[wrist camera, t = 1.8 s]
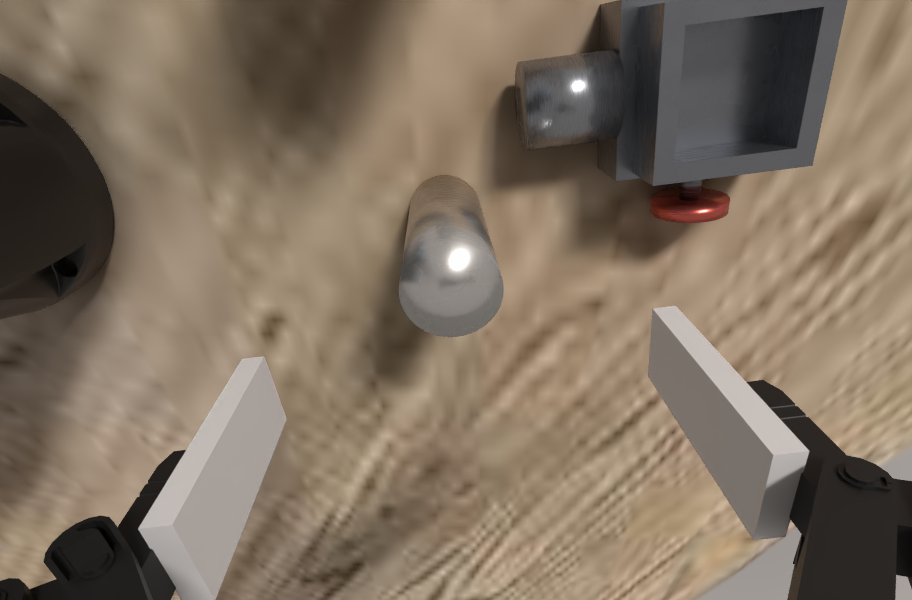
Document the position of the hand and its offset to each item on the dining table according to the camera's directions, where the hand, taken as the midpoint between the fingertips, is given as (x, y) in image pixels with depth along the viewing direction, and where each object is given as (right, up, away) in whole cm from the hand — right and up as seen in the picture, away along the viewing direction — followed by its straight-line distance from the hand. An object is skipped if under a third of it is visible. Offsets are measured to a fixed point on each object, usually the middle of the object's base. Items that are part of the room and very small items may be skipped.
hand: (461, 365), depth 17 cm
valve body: (+11, +14, +13) cm, 22 cm away
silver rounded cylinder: (-1, +8, +15) cm, 18 cm away
